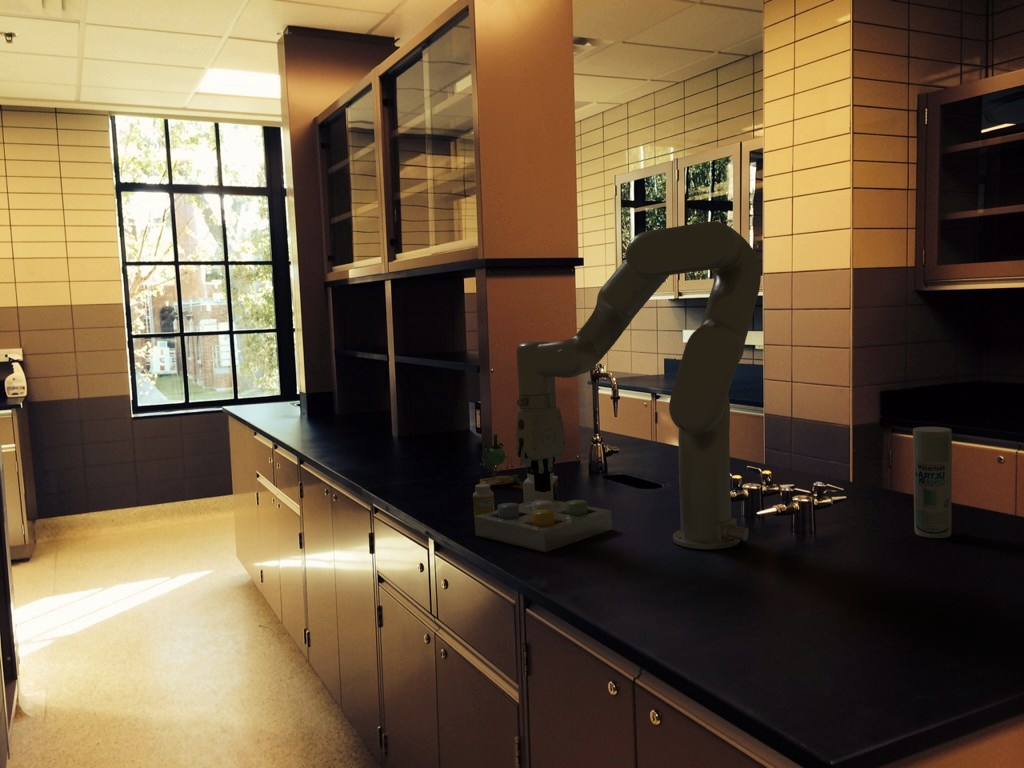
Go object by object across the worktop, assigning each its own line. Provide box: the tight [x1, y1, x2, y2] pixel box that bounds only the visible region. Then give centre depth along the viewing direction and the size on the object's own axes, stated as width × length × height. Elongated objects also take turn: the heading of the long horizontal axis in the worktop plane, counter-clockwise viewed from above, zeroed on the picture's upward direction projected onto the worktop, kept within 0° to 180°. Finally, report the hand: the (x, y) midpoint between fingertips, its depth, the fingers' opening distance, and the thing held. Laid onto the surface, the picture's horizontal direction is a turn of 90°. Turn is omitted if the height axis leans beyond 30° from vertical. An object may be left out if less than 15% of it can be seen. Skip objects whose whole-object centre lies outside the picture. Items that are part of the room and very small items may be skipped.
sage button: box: [565, 499, 588, 517], centre depth 170 cm, size 4×4×4 cm
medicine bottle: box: [522, 462, 560, 503], centre depth 190 cm, size 7×7×12 cm
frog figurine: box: [478, 433, 523, 489], centre depth 220 cm, size 10×18×15 cm, turn 30°
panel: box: [473, 498, 613, 553], centre depth 170 cm, size 20×20×4 cm
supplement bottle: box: [472, 483, 496, 522], centre depth 180 cm, size 5×5×8 cm
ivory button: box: [532, 501, 552, 510], centre depth 177 cm, size 4×4×4 cm
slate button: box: [497, 502, 520, 520], centre depth 170 cm, size 4×4×4 cm
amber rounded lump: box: [532, 510, 555, 528], centre depth 163 cm, size 4×4×4 cm
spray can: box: [912, 426, 953, 539], centre depth 155 cm, size 6×6×20 cm
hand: (542, 490), depth 170 cm, fingers closed
